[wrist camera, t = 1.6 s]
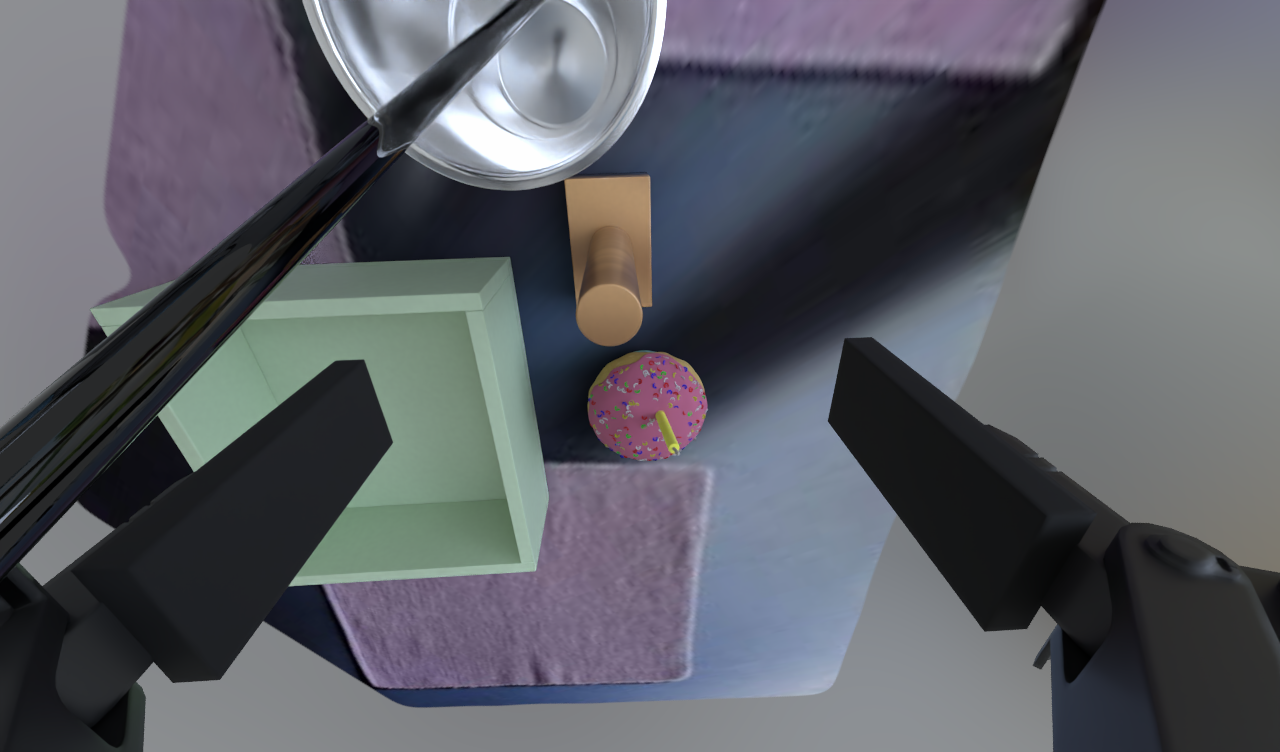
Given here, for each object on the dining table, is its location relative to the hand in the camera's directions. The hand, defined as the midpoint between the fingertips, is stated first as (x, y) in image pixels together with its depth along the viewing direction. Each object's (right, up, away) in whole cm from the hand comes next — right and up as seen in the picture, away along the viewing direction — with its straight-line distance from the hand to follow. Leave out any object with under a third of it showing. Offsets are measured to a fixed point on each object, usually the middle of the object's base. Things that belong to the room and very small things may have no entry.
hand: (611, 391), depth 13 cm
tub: (-18, -1, +23) cm, 29 cm away
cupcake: (+1, 0, +23) cm, 23 cm away
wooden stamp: (-1, +10, +18) cm, 21 cm away
